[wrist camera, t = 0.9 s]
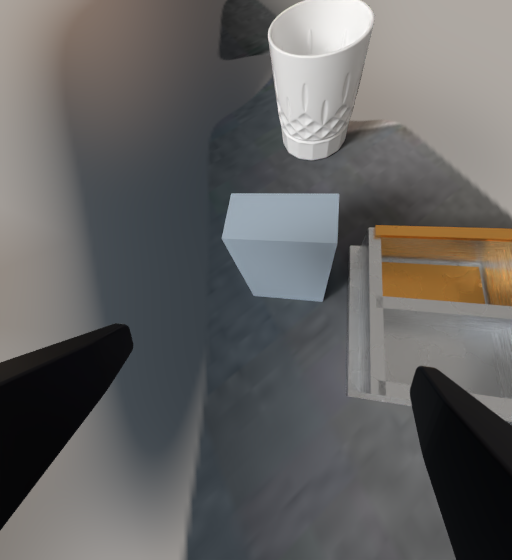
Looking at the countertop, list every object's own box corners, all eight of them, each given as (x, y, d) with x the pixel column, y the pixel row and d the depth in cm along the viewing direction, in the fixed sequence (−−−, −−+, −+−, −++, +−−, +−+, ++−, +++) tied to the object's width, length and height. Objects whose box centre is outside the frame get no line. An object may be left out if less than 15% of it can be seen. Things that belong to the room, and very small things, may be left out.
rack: (523, 423, 17) (602, 438, 12) (345, 395, 19) (358, 399, 14) (490, 257, 21) (541, 224, 16) (348, 250, 23) (359, 219, 19)
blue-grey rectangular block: (322, 301, 22) (337, 243, 13) (253, 295, 23) (221, 238, 14) (324, 269, 23) (339, 193, 14) (258, 265, 24) (231, 193, 15)
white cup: (341, 106, 30) (359, -16, 21) (358, 156, 27) (388, 39, 18) (274, 122, 31) (262, 11, 21) (283, 172, 28) (274, 67, 18)
